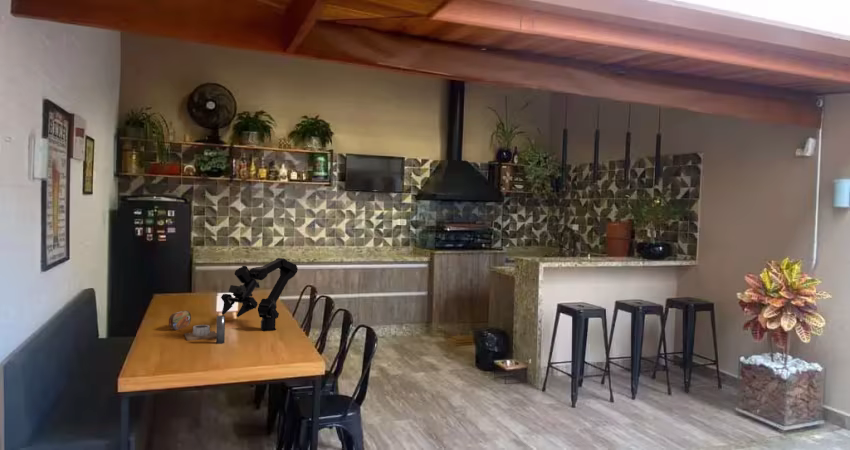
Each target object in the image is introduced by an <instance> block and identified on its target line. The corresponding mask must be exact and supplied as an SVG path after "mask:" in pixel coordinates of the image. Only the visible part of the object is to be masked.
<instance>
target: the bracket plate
mask: <svg viewBox="0 0 850 450" xmlns="http://www.w3.org/2000/svg"><path fill="white" fill-rule="evenodd" d="M183 336H184V338H185V340H186V341H198V340H199V341H200V340H208V339H209V340H210V339H216V331H215V330H210V335H208V336H202V337H196V336H193V332H186V333H183Z"/></svg>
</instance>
